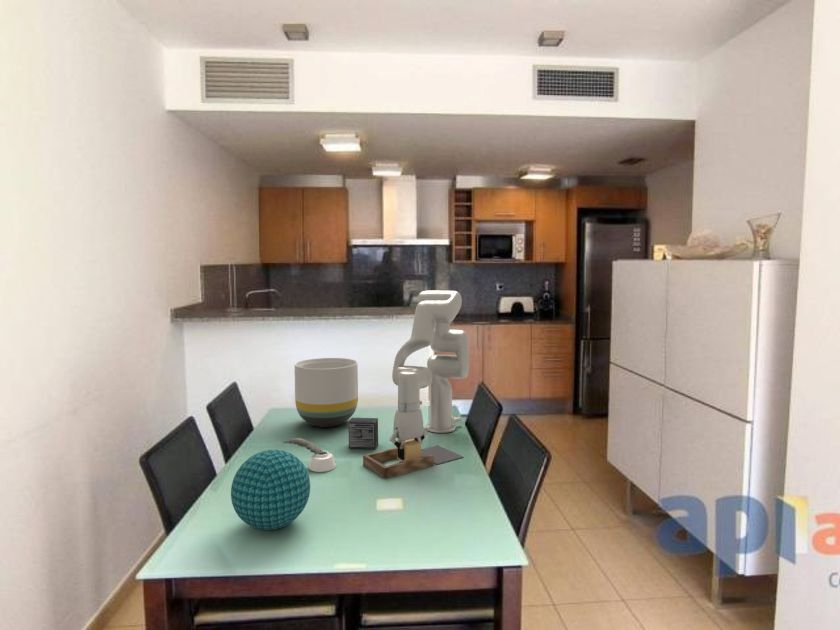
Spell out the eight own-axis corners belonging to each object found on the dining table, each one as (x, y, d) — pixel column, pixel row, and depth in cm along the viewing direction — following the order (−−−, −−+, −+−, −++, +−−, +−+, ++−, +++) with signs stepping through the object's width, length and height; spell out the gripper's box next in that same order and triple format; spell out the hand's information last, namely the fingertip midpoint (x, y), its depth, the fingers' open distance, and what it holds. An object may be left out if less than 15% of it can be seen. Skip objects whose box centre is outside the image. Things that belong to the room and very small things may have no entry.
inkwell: (333, 472, 174) (333, 443, 173) (279, 472, 174) (278, 443, 173) (337, 462, 183) (337, 434, 183) (286, 462, 183) (285, 434, 182)
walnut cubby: (410, 453, 192) (410, 444, 191) (433, 465, 180) (433, 455, 180) (363, 465, 180) (363, 455, 180) (385, 478, 169) (384, 468, 168)
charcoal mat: (437, 446, 200) (437, 445, 199) (463, 457, 187) (463, 456, 187) (412, 452, 193) (412, 451, 193) (436, 464, 180) (436, 463, 180)
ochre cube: (411, 455, 187) (411, 438, 186) (421, 460, 182) (421, 443, 182) (397, 458, 184) (397, 442, 183) (406, 463, 179) (406, 446, 178)
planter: (308, 414, 243) (307, 357, 240) (364, 416, 239) (364, 358, 237) (285, 432, 216) (284, 368, 214) (348, 435, 213) (348, 369, 210)
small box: (379, 443, 202) (378, 417, 201) (375, 449, 196) (375, 422, 195) (352, 443, 203) (351, 416, 202) (348, 448, 197) (347, 421, 196)
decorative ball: (293, 548, 127) (291, 468, 125) (216, 541, 130) (213, 463, 128) (321, 510, 147) (320, 441, 145) (254, 505, 150) (252, 437, 148)
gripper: (422, 400, 189) (423, 448, 191) (381, 407, 179) (382, 458, 181) (435, 404, 183) (435, 454, 185) (393, 412, 173) (394, 465, 175)
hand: (409, 456), depth 183 cm, fingers closed on ochre cube, 6 cm apart
